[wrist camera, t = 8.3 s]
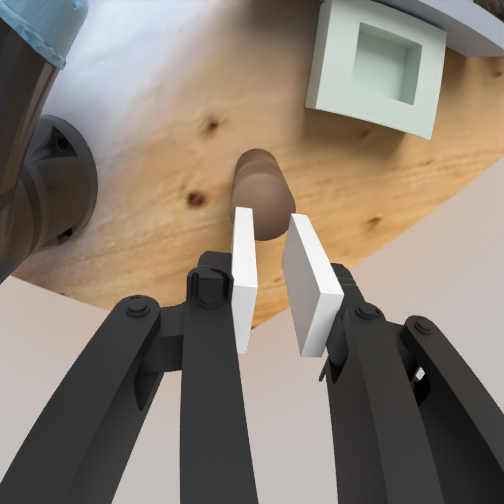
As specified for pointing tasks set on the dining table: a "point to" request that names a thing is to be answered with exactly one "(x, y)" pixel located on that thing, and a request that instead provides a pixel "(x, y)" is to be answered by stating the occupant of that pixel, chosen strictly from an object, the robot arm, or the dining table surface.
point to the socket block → (377, 66)
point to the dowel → (262, 194)
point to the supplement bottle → (493, 7)
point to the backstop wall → (458, 24)
